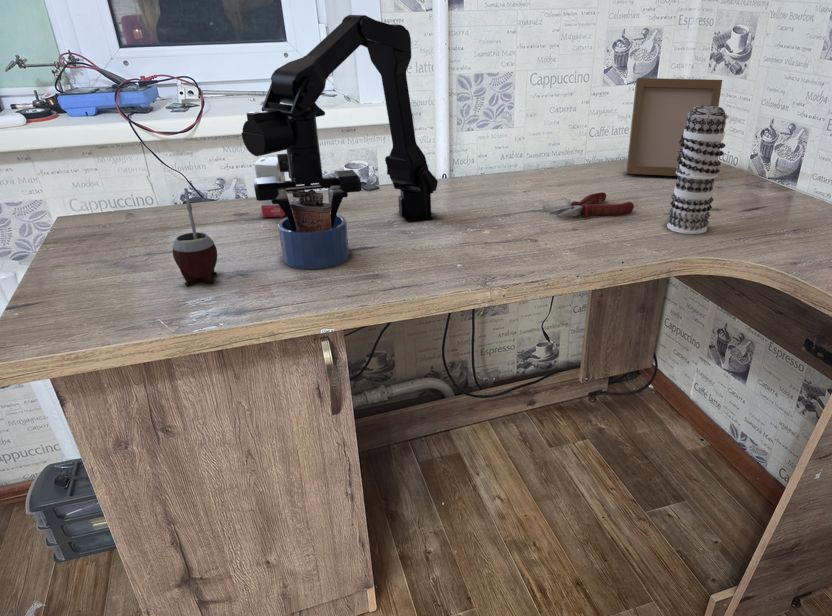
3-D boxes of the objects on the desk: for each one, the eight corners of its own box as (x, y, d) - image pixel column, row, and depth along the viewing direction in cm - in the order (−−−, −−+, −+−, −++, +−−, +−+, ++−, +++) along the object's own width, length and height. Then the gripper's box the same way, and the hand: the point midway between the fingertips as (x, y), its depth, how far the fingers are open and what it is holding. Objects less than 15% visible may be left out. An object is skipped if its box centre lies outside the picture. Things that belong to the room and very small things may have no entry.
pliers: (537, 213, 146) (537, 202, 144) (601, 200, 155) (603, 190, 154) (569, 227, 137) (570, 215, 136) (635, 213, 147) (636, 202, 146)
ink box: (283, 217, 143) (276, 164, 137) (261, 217, 142) (253, 165, 137) (290, 206, 150) (283, 155, 144) (269, 206, 150) (261, 156, 144)
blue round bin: (343, 242, 129) (339, 209, 125) (354, 264, 118) (350, 228, 115) (280, 250, 125) (275, 215, 121) (286, 273, 115) (281, 236, 111)
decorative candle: (657, 227, 137) (676, 107, 125) (677, 218, 143) (697, 102, 131) (696, 237, 132) (720, 112, 120) (715, 227, 138) (740, 107, 126)
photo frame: (707, 180, 172) (726, 82, 160) (626, 177, 175) (638, 80, 163) (699, 167, 185) (716, 75, 172) (624, 164, 188) (635, 74, 175)
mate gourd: (197, 291, 108) (177, 205, 100) (168, 281, 111) (147, 198, 104) (232, 276, 113) (216, 194, 106) (204, 267, 117) (186, 187, 109)
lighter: (337, 241, 121) (332, 190, 116) (328, 247, 118) (322, 195, 113) (301, 237, 123) (294, 186, 118) (291, 242, 120) (284, 190, 115)
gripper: (347, 133, 121) (354, 212, 128) (245, 140, 115) (259, 222, 123) (358, 145, 111) (365, 229, 119) (248, 153, 106) (263, 241, 114)
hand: (313, 229), depth 119 cm, fingers closed on lighter, 6 cm apart
